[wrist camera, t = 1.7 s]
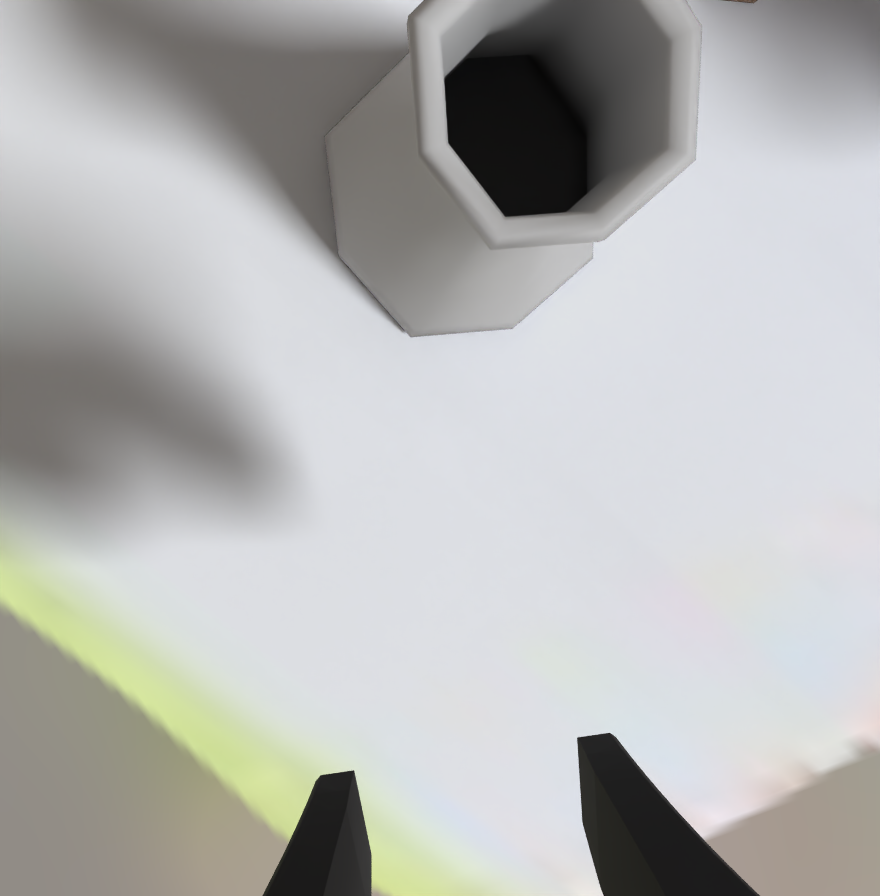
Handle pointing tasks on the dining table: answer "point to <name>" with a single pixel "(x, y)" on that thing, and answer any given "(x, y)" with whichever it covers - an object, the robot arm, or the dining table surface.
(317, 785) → the robot arm
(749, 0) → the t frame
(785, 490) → the dining table surface
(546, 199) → the flask
